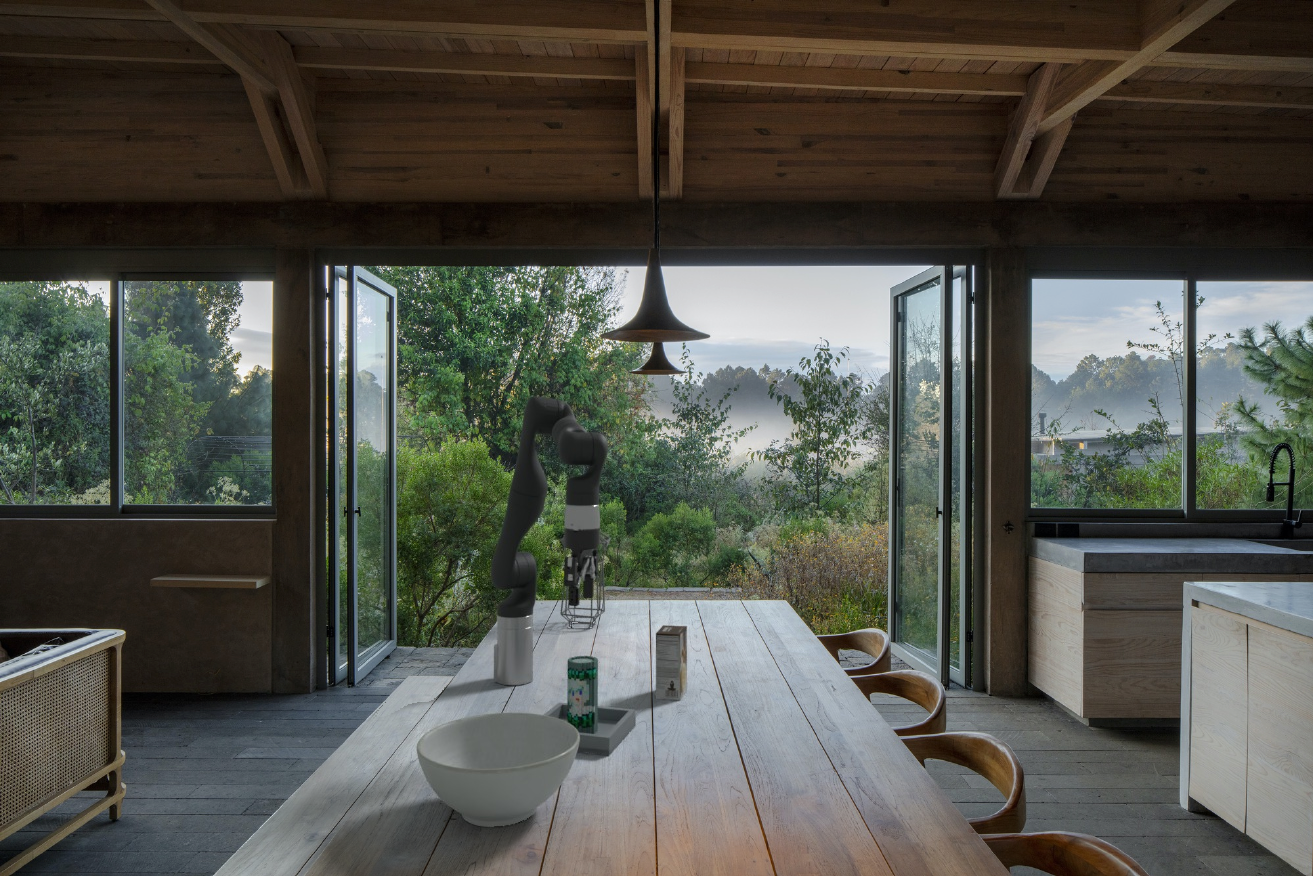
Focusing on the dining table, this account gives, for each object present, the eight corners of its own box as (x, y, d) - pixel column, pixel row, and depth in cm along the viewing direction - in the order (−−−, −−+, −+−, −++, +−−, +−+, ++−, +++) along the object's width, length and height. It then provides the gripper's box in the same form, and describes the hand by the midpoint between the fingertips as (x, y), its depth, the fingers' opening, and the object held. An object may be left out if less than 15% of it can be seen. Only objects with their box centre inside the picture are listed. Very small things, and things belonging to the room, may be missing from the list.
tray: (525, 746, 166) (525, 729, 166) (558, 718, 184) (558, 702, 184) (609, 755, 162) (609, 737, 162) (635, 725, 179) (635, 709, 179)
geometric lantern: (565, 620, 286) (569, 520, 287) (610, 623, 284) (613, 522, 285) (554, 630, 271) (557, 523, 271) (600, 632, 268) (604, 525, 269)
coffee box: (662, 688, 207) (662, 624, 207) (687, 689, 205) (687, 625, 206) (655, 699, 198) (655, 632, 198) (681, 701, 196) (681, 633, 197)
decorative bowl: (432, 780, 149) (433, 714, 150) (580, 776, 152) (580, 710, 152) (399, 853, 123) (399, 772, 123) (578, 846, 125) (579, 767, 125)
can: (563, 734, 171) (563, 661, 171) (575, 724, 176) (575, 654, 177) (590, 737, 169) (590, 664, 169) (601, 727, 175) (601, 657, 175)
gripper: (577, 521, 182) (576, 594, 182) (552, 528, 169) (551, 607, 169) (609, 523, 180) (608, 596, 180) (586, 530, 167) (585, 609, 167)
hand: (581, 601), depth 175 cm, fingers open, 8 cm apart
